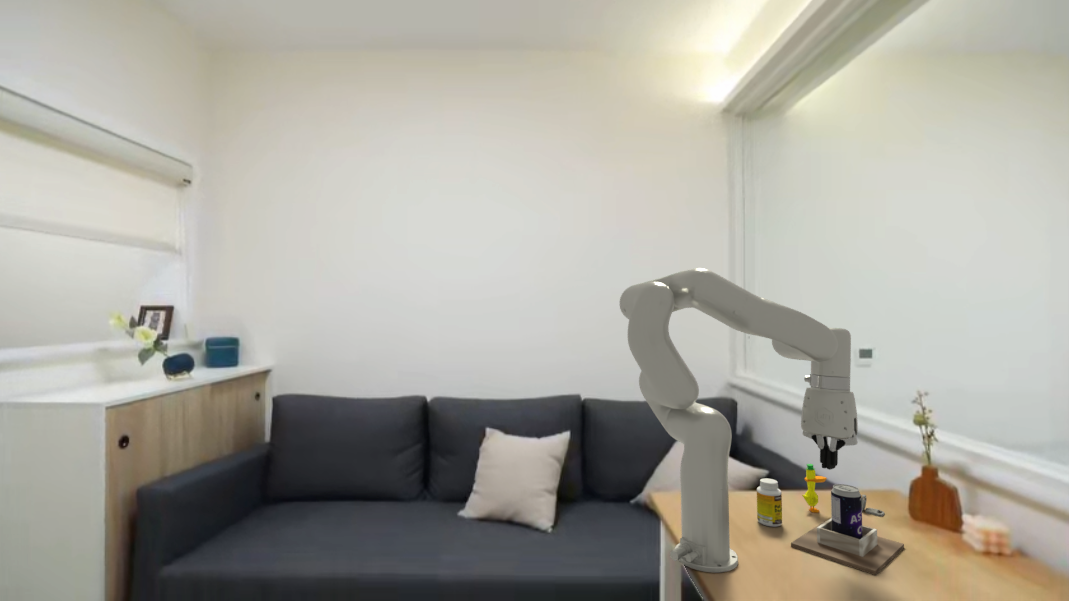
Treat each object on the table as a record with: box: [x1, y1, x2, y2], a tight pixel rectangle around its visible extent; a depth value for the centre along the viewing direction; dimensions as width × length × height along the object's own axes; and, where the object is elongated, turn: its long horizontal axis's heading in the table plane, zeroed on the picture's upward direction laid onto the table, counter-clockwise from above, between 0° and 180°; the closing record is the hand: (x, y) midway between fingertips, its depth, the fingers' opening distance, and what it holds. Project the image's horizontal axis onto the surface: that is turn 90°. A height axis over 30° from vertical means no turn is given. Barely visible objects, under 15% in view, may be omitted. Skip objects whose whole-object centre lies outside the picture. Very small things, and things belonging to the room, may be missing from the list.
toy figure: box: [801, 463, 828, 514], centre depth 130 cm, size 7×4×12 cm, turn 94°
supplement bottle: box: [756, 477, 783, 528], centre depth 123 cm, size 6×6×10 cm
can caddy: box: [790, 517, 905, 576], centre depth 109 cm, size 18×16×4 cm
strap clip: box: [861, 494, 885, 518], centre depth 130 cm, size 8×3×4 cm, turn 42°
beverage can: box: [830, 483, 863, 539], centre depth 109 cm, size 6×6×12 cm
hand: (828, 467), depth 110 cm, fingers closed
